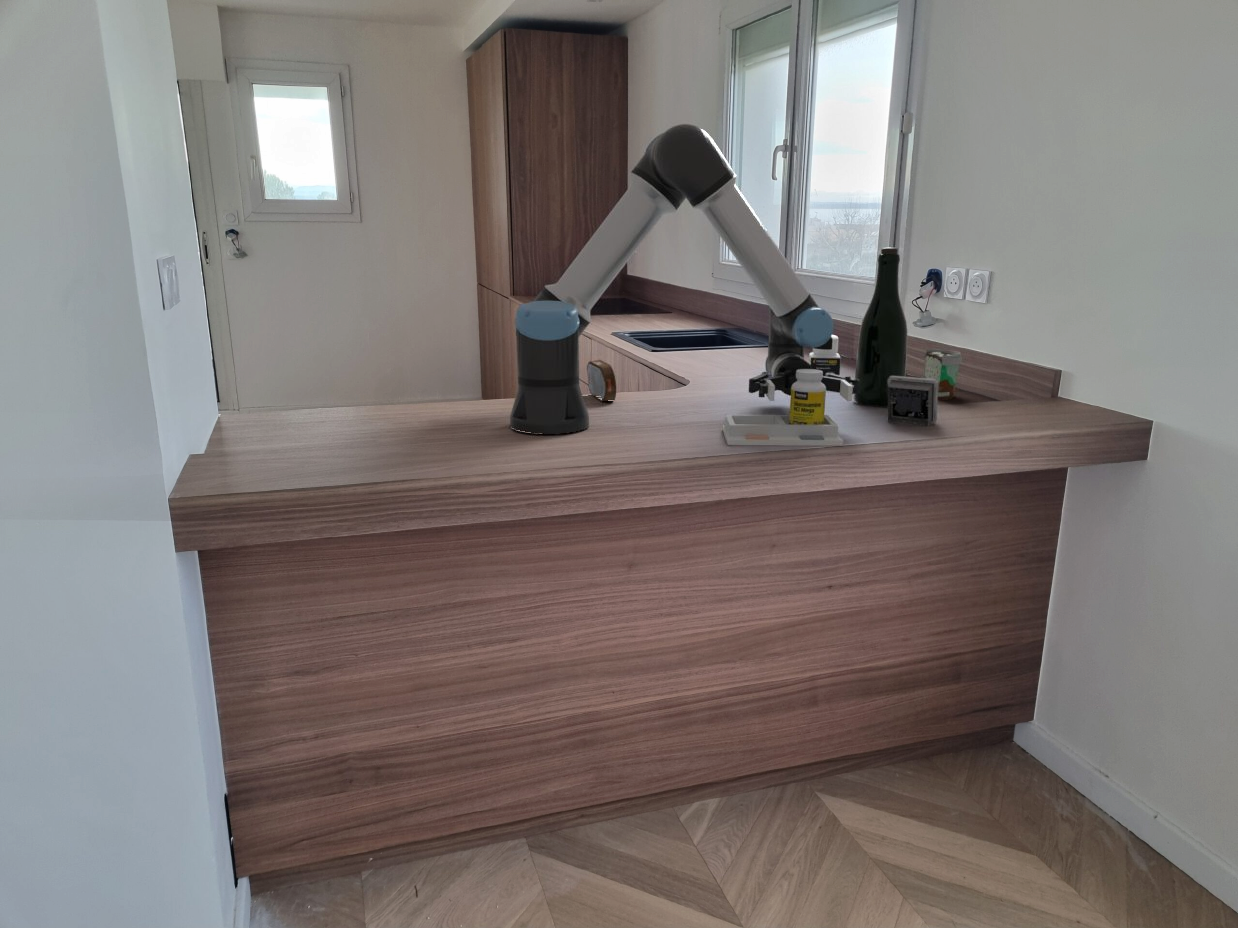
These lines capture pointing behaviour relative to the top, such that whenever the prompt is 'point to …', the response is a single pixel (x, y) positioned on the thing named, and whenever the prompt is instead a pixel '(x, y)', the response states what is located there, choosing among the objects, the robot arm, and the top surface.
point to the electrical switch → (912, 400)
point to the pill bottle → (807, 398)
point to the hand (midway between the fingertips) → (811, 393)
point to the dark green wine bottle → (882, 335)
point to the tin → (601, 380)
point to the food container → (942, 370)
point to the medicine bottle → (826, 357)
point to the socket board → (779, 431)
